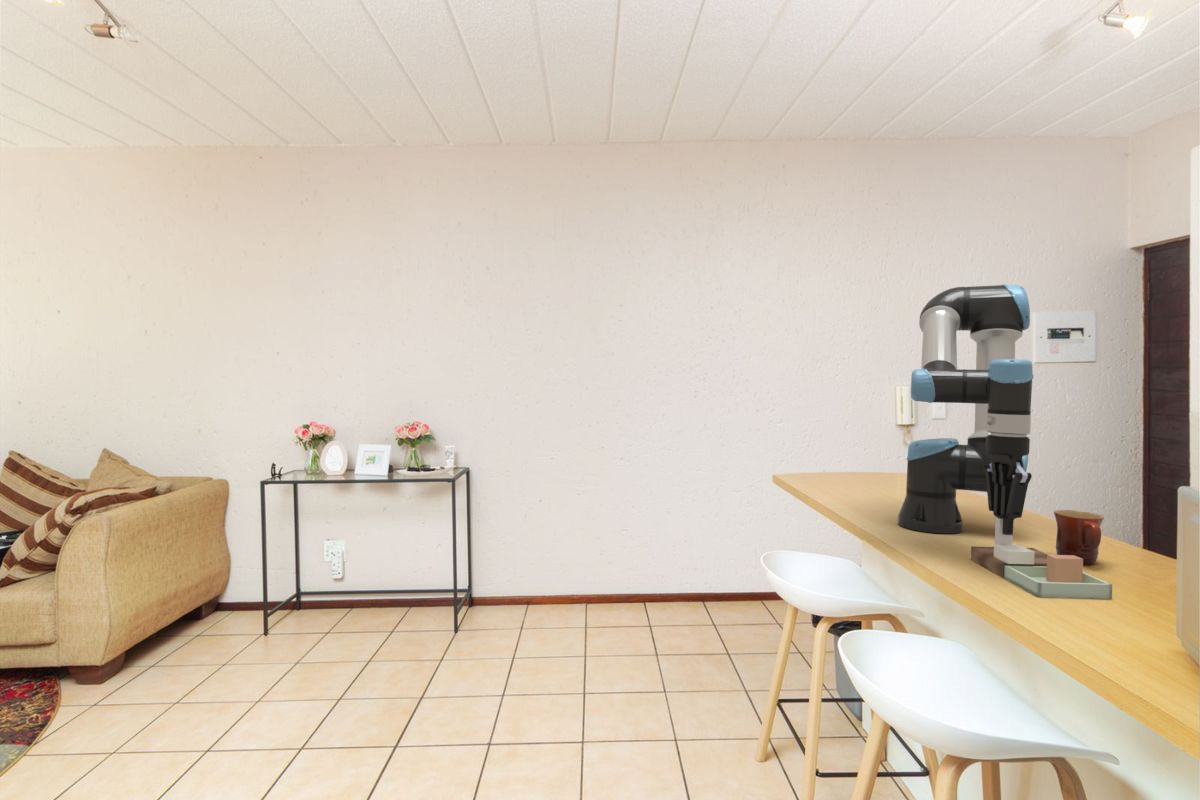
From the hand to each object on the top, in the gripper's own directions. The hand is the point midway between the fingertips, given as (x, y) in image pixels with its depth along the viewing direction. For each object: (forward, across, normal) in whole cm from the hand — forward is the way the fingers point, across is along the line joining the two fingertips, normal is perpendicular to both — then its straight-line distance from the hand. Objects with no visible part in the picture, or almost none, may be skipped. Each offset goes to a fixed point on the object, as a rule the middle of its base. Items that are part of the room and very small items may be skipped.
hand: (1003, 549), depth 131 cm
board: (+4, -1, +4) cm, 6 cm away
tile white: (+1, +3, 0) cm, 4 cm away
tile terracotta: (+1, +8, +6) cm, 10 cm away
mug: (+5, -7, +20) cm, 22 cm away
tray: (+5, +11, +4) cm, 12 cm away
